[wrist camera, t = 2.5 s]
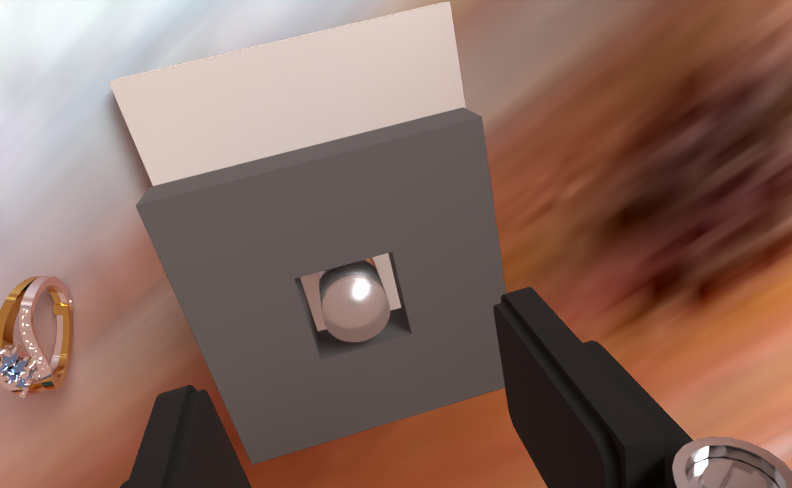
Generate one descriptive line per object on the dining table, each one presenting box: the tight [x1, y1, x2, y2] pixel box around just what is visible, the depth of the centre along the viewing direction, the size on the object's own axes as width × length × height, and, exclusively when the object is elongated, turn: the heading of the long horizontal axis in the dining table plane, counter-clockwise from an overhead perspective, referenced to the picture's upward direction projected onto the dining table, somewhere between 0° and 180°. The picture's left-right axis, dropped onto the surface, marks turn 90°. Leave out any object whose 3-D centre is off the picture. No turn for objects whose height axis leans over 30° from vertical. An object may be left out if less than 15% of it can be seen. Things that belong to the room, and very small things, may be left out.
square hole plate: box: [136, 107, 506, 465], centre depth 25 cm, size 14×14×2 cm
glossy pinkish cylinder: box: [317, 257, 390, 342], centre depth 29 cm, size 4×4×13 cm
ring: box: [0, 276, 73, 398], centre depth 33 cm, size 7×3×8 cm, turn 173°
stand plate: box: [109, 2, 466, 331], centre depth 36 cm, size 22×20×2 cm
